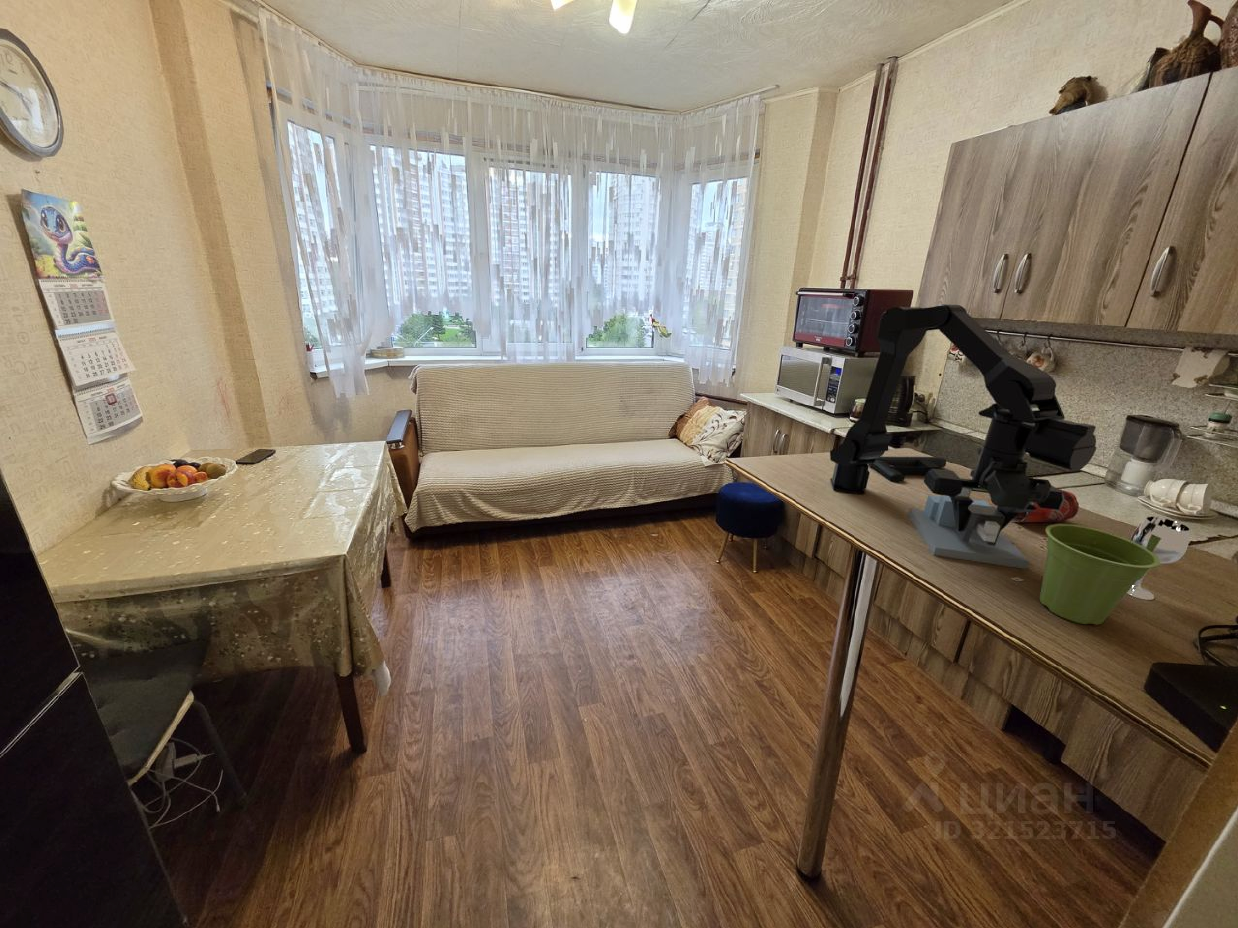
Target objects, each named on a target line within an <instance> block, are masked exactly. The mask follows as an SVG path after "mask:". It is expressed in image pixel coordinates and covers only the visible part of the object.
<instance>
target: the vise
mask: <svg viewBox="0 0 1238 928" xmlns="http://www.w3.org/2000/svg"><path fill="white" fill-rule="evenodd" d="M972 500H973V503H972V504H975V505H983V506H990V507H992V506H991V505H990V504H989V503H988V502H987V501H985V500H978V499H972ZM907 513H908V514H907V516H908V517H909V519H910V521H911V522H912V524H913V525H914V527H915V528H916V530H917V532H918V533H919V535H920V536H921V538H922V539H923V541H924V543H925V544H926V546H927V547H928V549H929V551H930V552H931V553H932V555H933V556H937V557H944V558H945V557H946V558H952V559H959V560H965V561H972V562H978V563H985V564H992V565H998V566H1005V567H1011V568H1017V569H1024V570H1027V567H1028V565H1029V560H1028V558H1026V556H1024V554H1023V553H1021V551H1020V550H1019V549H1018V548H1017V547H1016V546H1015V545H1014V544H1013V543H1012V542H1011V540H1010V539H1008V538H1007V536H1005V534H1003V533H1002V531H1000V533H999V536H998V539H997V542H996V544H995V546H993V545H988V544H987V543H986V541H989V542H995V540H996V537H997V534H998V531H999V529H1000V525H999V524H998V523H997V522H992V521H986V522H985V523H984V522H975V525H974V528H973V531H972V534H971V537H970V540H969V542H966V541H962V540H961V539H960V537H959V536H958V535H957V534H956V532H955V531H954V529H955V526H956V523H955V516H954V510H953V505H952V501H951V498H950V497H949V496H945V495H933V494H928V495H927V499H926V502H925V506H924V509H917V508H916V509H915V508H912V507H911V508H909V510H908V512H907Z"/></svg>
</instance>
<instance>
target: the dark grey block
mask: <svg viewBox="0 0 1238 928" xmlns="http://www.w3.org/2000/svg"><path fill="white" fill-rule="evenodd" d="M990 506H991V505H990ZM990 506H983V505H975V504H971V505H970V506H969V507H968V511H967V515H966V519H965V523H964V526H963V528H962V530H961V531H958V530H957V528H956V526H955V529H954V531H955V532H956V534H957V535H958V536H959V537H960V539H961V540H962V541H966V542H969V540H970V537H971V534H972V531H973V528H974V525H975V522H984V523H985V522H986V521H992V522H997V523H998V524H999V525H1000V529H999V531H998V534H997V537H996V540H995V542H989V541H986V543H987V544H988V545H993V546H995V544H996V542H997V539H998V536H999V533H1000V532H1002V530H1001V528H1002V525H1003V522H1004V519H1005V516H1004V515H1003V514H1002V513H1001V512H1000V511H998V510H997V507H995V506H991V507H990Z"/></svg>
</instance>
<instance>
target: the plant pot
mask: <svg viewBox="0 0 1238 928" xmlns="http://www.w3.org/2000/svg"><path fill="white" fill-rule="evenodd" d="M1045 534H1046V535H1047V545H1046V549H1047V555H1046V561H1045V564H1044V572H1043V578H1042V583H1041V587H1040V588H1041V589H1040V593H1039V601H1040V603H1041V604H1042V605H1043V606H1045V607H1047V608H1048V609H1049V611H1050V612H1052V613H1054V615H1057V616H1058V617H1061V618H1062V619H1063V618H1064V619H1066V620H1069V621H1071V622H1074V623H1077V624H1082V625H1089V624H1091V625H1092V624H1093V625H1096V626H1097V625H1100V624H1103V622H1104V621H1106V620H1107V618H1108V616H1109V615H1110V614H1111V613H1112V612H1113V610H1115V608H1116V607H1117V605H1118V604H1119V603H1120V601H1122V599H1123V598H1124V597H1125V596H1126V595H1127V594H1126V593H1127V592H1128V591H1129V590H1130V589H1131V587H1132V586H1133V585H1134V584H1135V583H1136V582H1137V580H1139V579H1141V578H1142V577H1143V576H1144V577H1145V576H1146V574H1147V573H1148V572H1149V571H1150V570H1151V569H1155V568H1158V566H1160V565H1161V563H1160V560H1159V559H1158V557H1157V556H1156V555H1155V554H1154V553H1152V552H1151V551H1149V550H1148V549H1146V548H1145V547H1143V546H1141V545H1139V544H1136V543H1134V542H1132V541H1130V540H1131V539H1128V538H1126V537H1122V536H1119V535H1116V534H1114V533H1111V532H1108V531H1105V530H1101V529H1096V528H1092V527H1090V526H1083V525H1078V524H1068V523H1055V524H1050V525H1048V526H1046V527H1045ZM1149 569H1150V570H1149ZM1148 570H1149V571H1148ZM1147 571H1148V572H1147ZM1144 577H1143V578H1144Z"/></svg>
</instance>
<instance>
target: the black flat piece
mask: <svg viewBox="0 0 1238 928" xmlns="http://www.w3.org/2000/svg"><path fill="white" fill-rule="evenodd" d="M946 465H947V460H946V458H945V457H940V456H880V457H878V459H877V460H876V462H875V463H874V464H872V463H871V464H868V466H869V468H872V469H875V470H876V472H878V473H880V475H882V476H883V477H885V478H886V479H888V481H891V482H892V483H893V482H894V483H902V482H904V481H905V478H906V477H905V476H908V477H909V476H911V477H912V476H914V477H915V476H921V477H922V476H923V477H925V475H926V473H927V472H928V471H929V470H931V469H939V470H940V469H941V468H944V467H946Z"/></svg>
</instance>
